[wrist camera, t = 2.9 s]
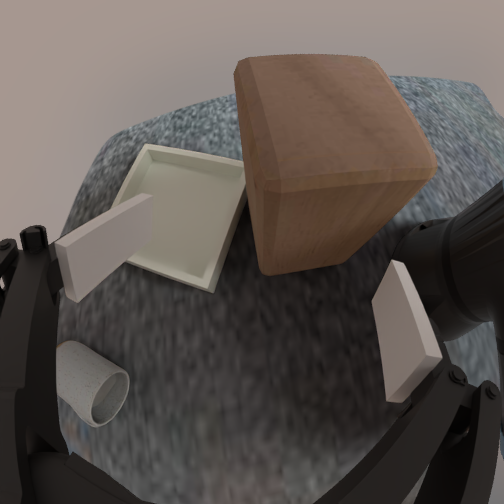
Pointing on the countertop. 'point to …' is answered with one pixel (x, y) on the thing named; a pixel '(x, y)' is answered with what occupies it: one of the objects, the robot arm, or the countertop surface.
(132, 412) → the countertop surface
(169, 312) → the countertop surface
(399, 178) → the wooden block
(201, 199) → the sage tray
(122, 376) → the ceramic mug
